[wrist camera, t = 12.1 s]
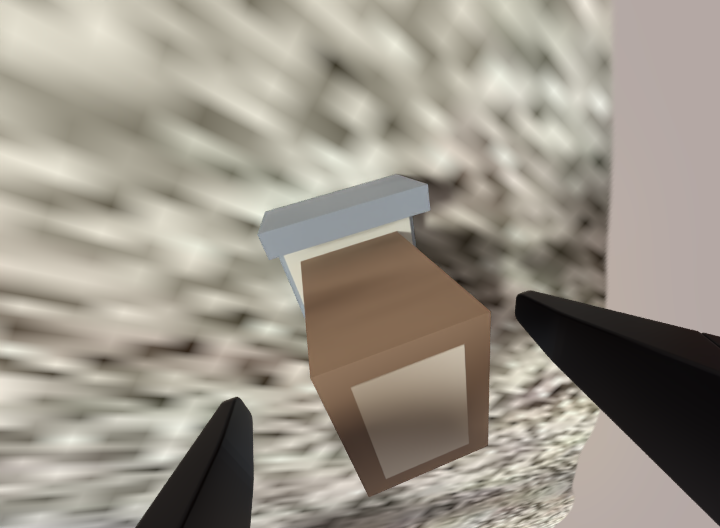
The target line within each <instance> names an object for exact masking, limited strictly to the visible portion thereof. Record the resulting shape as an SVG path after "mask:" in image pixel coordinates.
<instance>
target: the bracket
mask: <svg viewBox="0 0 720 528" xmlns="http://www.w3.org/2000/svg"><path fill="white" fill-rule="evenodd" d="M427 211H430V202H429V192H428V184H426V183H422V182H419V181H416V180H413V179H410V178H407V177H404V176H401V175H398V174H395V175H392V176H388V177H385V178H381V179H378V180H374V181H371V182H367V183H364V184H360V185H357V186H353V187H350V188H346V189H343V190H339V191H336V192H332V193H329V194H325V195H322V196H318V197H315V198H311V199H308V200H304V201H301V202H297V203H294V204H290V205H287V206H283V207H280V208H276V209H273V210H269V211H266V212H265V214H264V217H263V220H262V223H261V226H260V229H259V231H258V237H259V239H260V241H261V243H262V246H263V248H264V250H265V252H266V254H267V257H268V259H269V260H271V259H274V258H277V257H279V259H280V261H281V264H282V266H283V268H284V271H285V273H286V275H287V278H288V280H289V282H290V285H291V287H292V289H293V292H294V294H295V296H296V299H297V301H298V303H299V306H300V308H301V311H302V313H303V315H304V318H305V309H304V297H303V286H302V274H301V261H304V260H307V259H310V258H313V257H316V256H319V255H323V254H326V253H329V252H332V251H335V250H338V249H342V248H345V247H348V246H351V245H354V244H357V243H361V242H364V241H367V240H370V239H373V238H376V237H379V236H383V235H386V234H389V233H392V232H395V231H397V232H398V233H400V234H401V235H402V236H403V237H404V238H405V239H407V240H408V241H409V242H410V243H411V244H412V245H414V246H415V247H416V241H415V233H414V226H413V218H412V216H414V215H417V214H420V213H423V212H427Z"/></svg>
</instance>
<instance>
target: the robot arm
mask: <svg viewBox="0 0 720 528" xmlns="http://www.w3.org/2000/svg"><path fill="white" fill-rule="evenodd" d="M515 316H516V319H517V320H518V322H519V323H520V324H521V325H522V326H523V328H524V329H525V330H526V331H527V332H528V334H529V335H530V336H531V337H532V338H533V339H534V341H535V342H536V343H537V344H538V345H539V346H540V348H541V349H542V350H543V351H544V352H545V354H546V355H547V356H548V357H549V358H550V359H551V360H552V361H553V362H554V363H555V364H556V365H557V366H558V367H559V368H560V369H561V370H562V371H563V372H564V373H565V374H566V375H567V376H568V377H569V378H570V379H571V380H572V381H573V382H574V383H575V384H576V385H577V386H578V387H579V388H580V389H581V390H582V391H583V392H584V393H585V394H586V395H587V396H588V397H589V398H590V399H591V400H592V401H593V402H594V403H595V404H596V405H597V406H598V407H599V408H600V409H601V410H602V411H603V412H604V413H605V414H607V416H608V417H609V418H610V419H611V420H612V421H613V422H614V423H615V424H616V425H617V426H618V427H619V428H620V429H621V430H622V431H624V433H625V434H626V435H628V436H629V437H630V438H631V439H632V440H633V441H634V442H635V443H636V444H637V445H638V446H639V447H640V448H641V449H642V450H643V451H644V452H645V453H646V454H647V455H648V456H649V457H650V458H651V459H652V460H653V461H654V462H655V463H656V464H657V465H658V466H659V467H660V468H661V469H662V470H663V471H664V472H665V473H666V474H667V475H668V476H669V477H670V478H671V479H672V480H673V481H674V482H675V483H676V484H677V485H678V486H679V487H680V488H681V489H682V490H683V491H684V492H685V493H686V494H687V495H688V496H689V497H690V498H691V499H692V500H693V501H695V502H696V503H697V504H698V506H700V507H701V508H702V509H703V510H704V511H705V512H706V513H707V514H708V515H709V516H710V517H711V518H712V519H713V520H714V521H715V522H716V523H717V524H718V525H719V526H720V337H719V336H715V335H711V334H707V333H700V332H698V331H695V330H690V329H686V328H682V327H678V326H674V325H670V324H666V323H662V322H658V321H653V320H650V319H645V318H641V317H637V316H633V315H629V314H625V313H621V312H616V311H612V310H609V309H605V308H600V307H596V306H592V305H588V304H584V303H580V302H576V301H572V300H568V299H564V298H560V297H555V296H551V295H547V294H543V293H539V292H535V291H526V292H523V293H520V294H518V295H517V297H516V306H515ZM253 482H254V462H253V420H252V415H251V413H250V411H249V410H248V408H247V407H246V406H245V404H244V403H243V401H242V400H241V399H240V398H239V397H234V398H232V399H229V400H226V401H224V402H223V403H221V405H220V406H219V407H218V409H217V410H216V412H215V413H214V415H213V416H212V418H211V419H210V420H209V422H208V423H207V425H206V426H205V428H204V429H203V431H202V432H201V433H200V435H199V436H198V438H197V439H196V441H195V442H194V444H193V445H192V446H191V448H190V449H189V451H188V452H187V454H186V455H185V457H184V458H183V459H182V461H181V462H180V464H179V465H178V467H177V468H176V470H175V471H174V472H173V474H172V475H171V477H170V478H169V480H168V481H167V483H166V484H165V485H164V487H163V488H162V490H161V491H160V493H159V494H158V496H157V497H156V498H155V500H154V501H153V503H152V504H151V506H150V507H149V509H148V510H147V511H146V513H145V514H144V516H143V517H142V519H141V520H140V522H139V523H138V524H137V526H136V527H135V528H250V523H251V510H252V498H253Z"/></svg>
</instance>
